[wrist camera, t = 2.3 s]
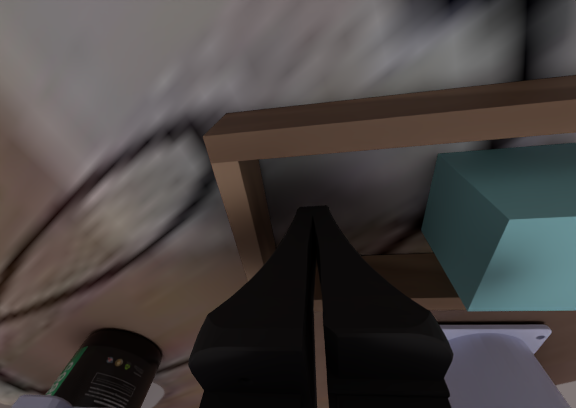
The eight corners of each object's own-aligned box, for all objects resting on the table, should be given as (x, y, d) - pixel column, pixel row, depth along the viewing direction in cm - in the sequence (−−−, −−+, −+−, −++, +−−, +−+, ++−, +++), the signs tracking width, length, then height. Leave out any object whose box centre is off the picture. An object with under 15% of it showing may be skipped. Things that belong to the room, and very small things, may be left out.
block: (530, 224, 13) (630, 310, 9) (420, 229, 14) (467, 311, 10) (572, 142, 11) (736, 208, 7) (437, 152, 12) (509, 219, 7)
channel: (636, 258, 14) (707, 307, 11) (265, 270, 16) (257, 312, 14) (826, 47, 8) (1041, 53, 6) (226, 113, 11) (202, 136, 9)
